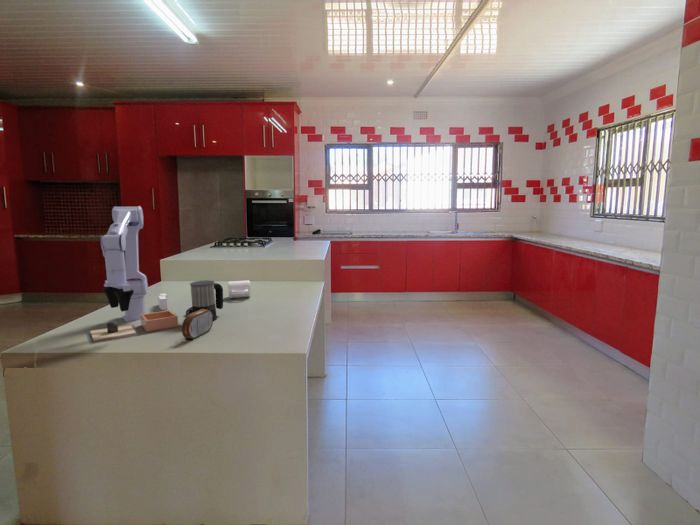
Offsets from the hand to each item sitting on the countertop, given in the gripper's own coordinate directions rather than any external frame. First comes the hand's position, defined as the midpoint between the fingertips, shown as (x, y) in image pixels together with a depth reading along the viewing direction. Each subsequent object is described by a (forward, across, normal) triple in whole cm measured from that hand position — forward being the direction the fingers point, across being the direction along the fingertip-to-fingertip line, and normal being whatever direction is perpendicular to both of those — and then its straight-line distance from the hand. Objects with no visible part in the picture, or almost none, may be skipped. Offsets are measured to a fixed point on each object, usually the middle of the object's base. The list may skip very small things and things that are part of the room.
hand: (119, 309), depth 142 cm
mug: (+10, -12, +59) cm, 61 cm away
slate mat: (+10, -3, -2) cm, 10 cm away
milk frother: (+10, +2, +29) cm, 31 cm away
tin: (+10, +21, +16) cm, 28 cm away
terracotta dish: (+10, +1, +13) cm, 16 cm away
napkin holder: (+10, -26, +30) cm, 41 cm away
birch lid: (+9, -3, -2) cm, 10 cm away
